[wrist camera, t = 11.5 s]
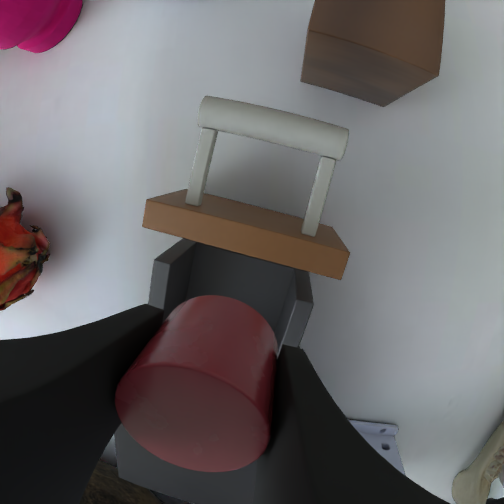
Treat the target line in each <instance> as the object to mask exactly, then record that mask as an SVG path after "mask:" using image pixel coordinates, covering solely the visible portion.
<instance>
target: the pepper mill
mask: <svg viewBox="0 0 504 504" xmlns="http://www.w3.org/2000/svg"><path fill="white" fill-rule="evenodd" d="M81 8H82V0H0V49H8V48H12V47H14V46H16V45H17V46H18V47H19V48H21V49H24V50H27V51H31V52H34V53H40V52H44V51H47V50H48V49H50V48H52V47H54V46H55V45H56V44H57V43H59V42H60V41H61V40H62V39H63V38H64V37H65V36H66V35H67V34H68V32H69V31H70V30H71V28H72V27H73V25H74V24H75V22H76V21H77V18H78V16H79V14H80V11H81Z"/></svg>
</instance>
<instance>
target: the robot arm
mask: <svg viewBox="0 0 504 504" xmlns="http://www.w3.org/2000/svg"><path fill="white" fill-rule="evenodd" d="M163 316H164V310H163V309H160V308H157V307H154V306H151V305H148V304H144V305H140V306H137V307H134V308H132V309H129V310H126V311H123V312H121V313H118V314H115V315H112V316H110V317H107V318H104V319H101V320H99V321H96V322H92V323H89V324H86V325H82V326H79V327H76V328H72V329H69V330H65V331H61V332H57V333H53V334H48V335H42V336H37V337H30V338H21V339H9V340H0V504H79V503H80V500H81V498H82V495H83V493H84V491H85V489H86V486H87V484H88V482H89V480H90V478H91V476H92V473H93V471H94V469H95V467H96V465H97V463H98V461H99V459H100V457H101V455H102V453H103V451H104V449H105V447H106V446H107V444H108V442H109V441H110V439H111V437H112V436H113V434H114V433H115V431H116V430H117V428H118V427H119V426H120V424H121V421H120V419H119V416H118V414H117V411H116V407H115V391H116V388H117V385H118V383H119V381H120V379H121V378H122V377H123V375H124V374H125V373H126V371H127V370H128V369H129V367H130V366H131V365H132V363H133V362H134V361H135V359H136V358H137V357H138V355H139V354H140V353H141V351H142V350H143V349H144V347H145V346H146V345H147V344H148V342H149V341H150V340H151V338H152V337H153V336H154V334H155V333H156V332H157V330H158V329H159V328H160V327H161V325H162V323H163ZM381 429H382V430H381ZM398 430H399V429H398V426H397V425H391V424H380V423H371V422H362V421H354V420H348V419H347V418H346V417H345V415H344V414H343V412H342V411H341V410H340V408H339V407H338V406H337V404H336V403H335V402H334V400H333V399H332V397H331V396H330V394H329V393H328V391H327V389H326V388H325V386H324V385H323V383H322V381H321V380H320V378H319V376H318V375H317V373H316V371H315V369H314V368H313V366H312V364H311V362H310V361H309V359H308V357H307V355H306V353H305V352H304V350H303V349H301V348H297V347H292V346H288V345H284V344H283V345H282V348H281V351H280V353H279V356H278V359H277V370H276V382H275V394H274V405H273V416H272V426H271V436H270V441H269V444H268V447H267V448H266V450H265V452H264V453H263V454H262V455H261V456H260V457H259V458H258V459H257V460H256V474H255V486H254V494H253V499H252V504H450V503H448V502H446V501H444V500H442V499H440V498H439V497H437V496H435V495H433V494H431V493H430V492H428V491H427V490H425V489H424V488H422V487H421V486H419V485H418V484H416V483H415V482H413V481H412V480H410V479H409V478H408V477H406V475H405V471H404V468H403V464H402V461H401V457H400V454H399V450H398V447H397V444H396V440H395V437H394V436H395V435H396V433H397V432H398Z"/></svg>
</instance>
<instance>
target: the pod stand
mask: <svg viewBox="0 0 504 504" xmlns="http://www.w3.org/2000/svg"><path fill="white" fill-rule="evenodd" d="M444 17H445V0H315V2H314V6H313V10H312V14H311V18H310V22H309V26H308V30H307V37H306V45H305V52H304V60H303V67H302V74H301V82H304V83H308V84H311V85H315V86H319V87H322V88H326V89H330V90H333V91H336V92H340V93H343V94H346V95H349V96H352V97H355V98H359V99H362V100H365V101H367V102H370V103H373V104H376V105H379V106H382V107H385V106H386V105H388V104H390V103H391V102H393V101H395V100H397V99H398V98H400V97H402V96H404V95H405V94H407V93H409V92H411V91H412V90H414V89H416V88H418V87H420V86H421V85H423V84H425V83H427V82H429V81H430V80H432V79H434V78H436V77H438V76H439V70H440V62H441V53H442V43H443V32H444Z"/></svg>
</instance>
